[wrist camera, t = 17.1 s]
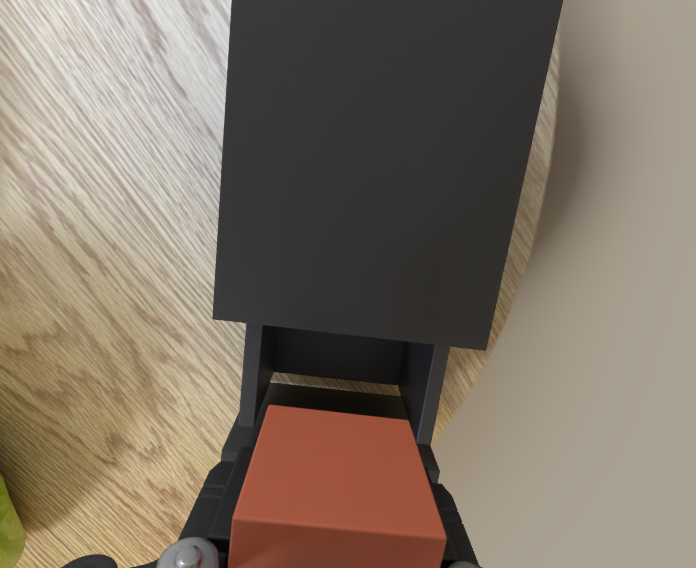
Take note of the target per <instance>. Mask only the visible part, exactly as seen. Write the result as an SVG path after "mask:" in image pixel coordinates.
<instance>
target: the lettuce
mask: <svg viewBox="0 0 696 568" xmlns="http://www.w3.org/2000/svg"><path fill="white" fill-rule="evenodd" d="M25 538H26V533H25V531H24V529H23V526H22V524H21V522H20V520H19V517H18V515H17V513H16V511H15V508H14V506H13V504H12V502H11V500H10V497H9V494H8V491H7V488H6V485H5V482H4V479H3V477H2V475H1V474H0V568H13V567H14V566H15V565H16V563H17V562H18V560H19V558H20V557H21V554H22V552H23V549H24V545H25Z"/></svg>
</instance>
